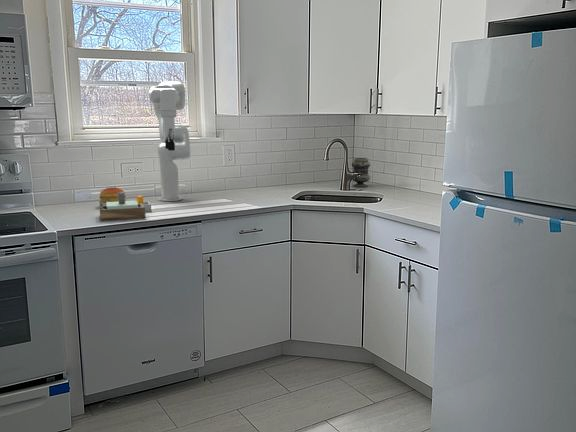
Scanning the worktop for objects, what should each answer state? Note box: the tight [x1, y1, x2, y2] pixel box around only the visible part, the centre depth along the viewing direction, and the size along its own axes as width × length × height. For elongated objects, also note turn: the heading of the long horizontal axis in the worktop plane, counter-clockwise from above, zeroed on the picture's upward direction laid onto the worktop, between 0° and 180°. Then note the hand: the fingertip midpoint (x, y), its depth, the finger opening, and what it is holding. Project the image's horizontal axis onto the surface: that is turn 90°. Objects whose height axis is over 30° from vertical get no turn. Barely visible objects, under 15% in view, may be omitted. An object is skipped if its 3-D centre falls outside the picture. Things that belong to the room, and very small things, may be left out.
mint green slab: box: [106, 192, 138, 210], centre depth 267 cm, size 12×14×6 cm
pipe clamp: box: [125, 195, 144, 205], centre depth 283 cm, size 12×4×6 cm, turn 141°
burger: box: [99, 186, 127, 205], centre depth 294 cm, size 13×14×10 cm
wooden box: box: [99, 199, 146, 222], centre depth 268 cm, size 12×20×8 cm, turn 109°
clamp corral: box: [143, 201, 152, 213], centre depth 283 cm, size 9×17×4 cm, turn 109°
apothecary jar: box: [351, 157, 371, 188], centre depth 359 cm, size 12×12×18 cm
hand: (170, 149), depth 280 cm, fingers open, 9 cm apart
